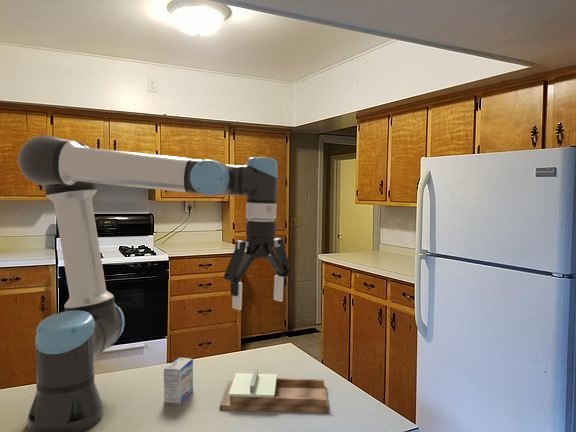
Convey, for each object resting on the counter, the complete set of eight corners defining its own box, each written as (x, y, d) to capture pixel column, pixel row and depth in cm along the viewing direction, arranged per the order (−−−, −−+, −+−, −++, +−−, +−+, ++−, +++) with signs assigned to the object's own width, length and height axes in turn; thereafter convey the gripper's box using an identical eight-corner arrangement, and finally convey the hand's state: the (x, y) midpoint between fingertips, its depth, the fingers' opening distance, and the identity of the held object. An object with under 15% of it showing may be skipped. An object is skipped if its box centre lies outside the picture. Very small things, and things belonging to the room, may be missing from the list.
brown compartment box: (219, 409, 106) (219, 398, 106) (229, 384, 120) (229, 374, 120) (328, 412, 106) (328, 402, 105) (325, 387, 120) (325, 377, 119)
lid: (228, 396, 107) (228, 387, 107) (236, 375, 119) (236, 367, 119) (274, 397, 107) (274, 388, 106) (276, 376, 119) (277, 368, 119)
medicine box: (180, 404, 108) (180, 370, 108) (163, 402, 109) (163, 368, 109) (193, 390, 116) (193, 358, 116) (177, 389, 117) (177, 356, 116)
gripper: (229, 222, 99) (227, 316, 100) (306, 220, 116) (303, 300, 117) (210, 220, 104) (208, 309, 105) (286, 218, 122) (283, 294, 123)
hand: (258, 304), depth 111 cm, fingers open, 13 cm apart
